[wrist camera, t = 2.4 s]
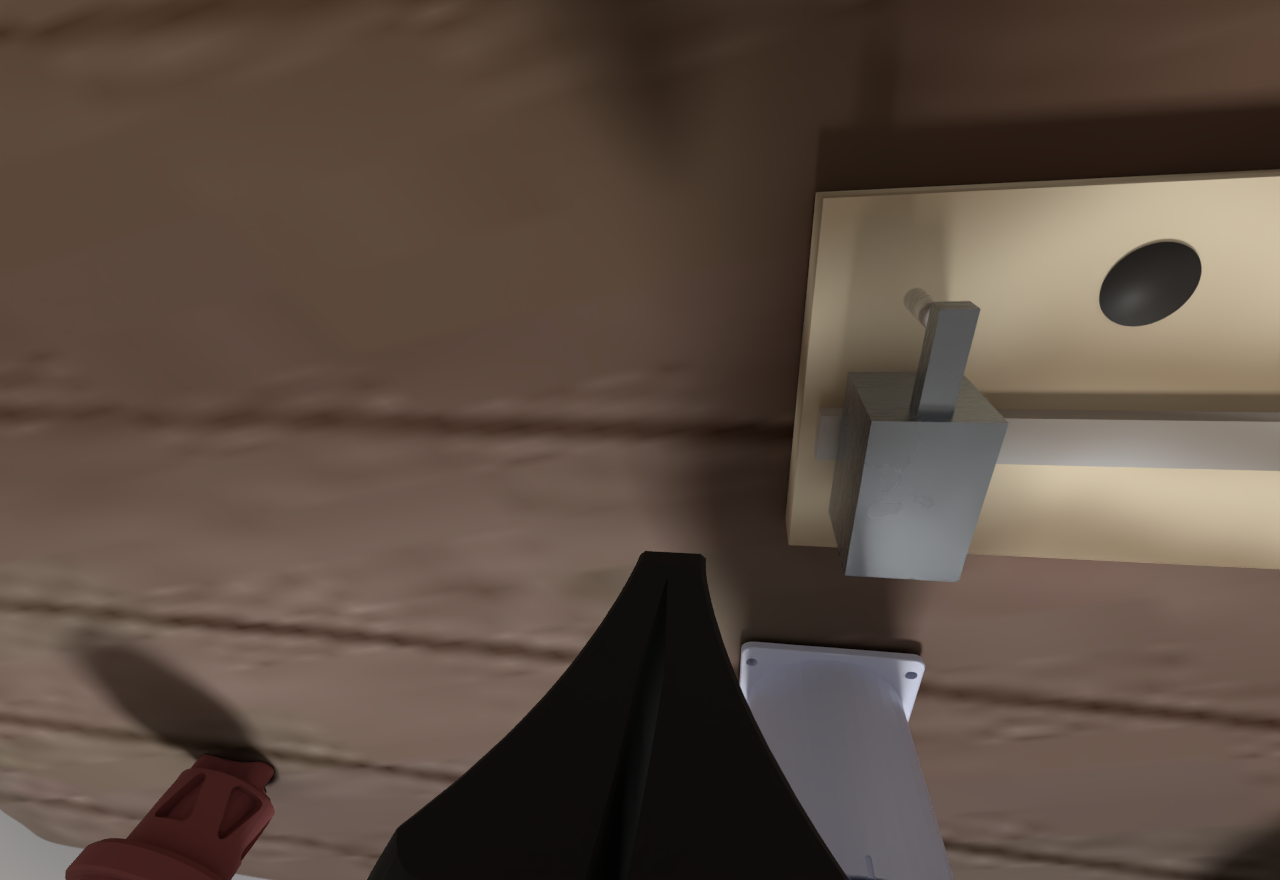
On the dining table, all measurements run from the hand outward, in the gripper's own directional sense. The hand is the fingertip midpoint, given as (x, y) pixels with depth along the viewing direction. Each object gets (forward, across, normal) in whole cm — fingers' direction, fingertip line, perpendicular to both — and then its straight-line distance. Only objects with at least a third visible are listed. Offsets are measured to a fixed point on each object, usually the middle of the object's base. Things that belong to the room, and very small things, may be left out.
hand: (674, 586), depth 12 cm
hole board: (+9, -15, -1) cm, 17 cm away
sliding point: (+7, -6, -1) cm, 9 cm away
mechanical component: (+9, +34, +31) cm, 47 cm away
